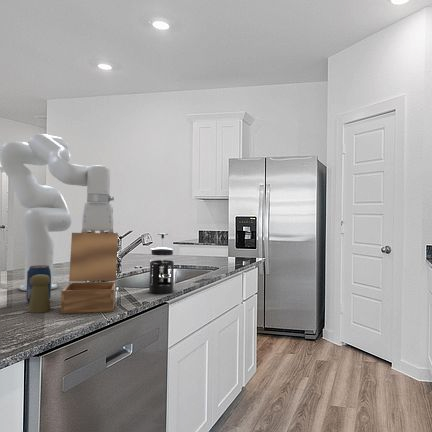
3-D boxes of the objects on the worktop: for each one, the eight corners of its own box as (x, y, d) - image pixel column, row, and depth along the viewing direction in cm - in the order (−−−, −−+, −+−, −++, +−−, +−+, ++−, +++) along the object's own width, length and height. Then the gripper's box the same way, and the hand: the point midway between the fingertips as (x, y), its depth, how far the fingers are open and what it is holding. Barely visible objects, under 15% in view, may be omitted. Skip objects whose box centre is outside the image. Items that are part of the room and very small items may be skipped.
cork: (40, 313, 128) (41, 276, 128) (23, 311, 129) (24, 275, 129) (55, 309, 134) (56, 274, 134) (38, 307, 135) (39, 272, 135)
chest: (113, 311, 133) (113, 289, 133) (60, 313, 128) (61, 291, 128) (115, 301, 148) (116, 281, 148) (68, 303, 143) (69, 282, 143)
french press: (155, 288, 174) (156, 232, 174) (177, 290, 173) (179, 233, 173) (142, 294, 162) (144, 233, 162) (166, 295, 161) (168, 234, 161)
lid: (117, 233, 150) (118, 233, 151) (71, 232, 145) (72, 232, 146) (116, 280, 148) (116, 280, 148) (69, 281, 143) (69, 281, 143)
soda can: (52, 300, 147) (53, 265, 147) (47, 304, 140) (48, 267, 140) (29, 300, 145) (30, 265, 145) (23, 304, 138) (24, 267, 138)
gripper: (120, 200, 161) (119, 249, 161) (76, 199, 156) (75, 249, 156) (120, 200, 154) (119, 250, 154) (74, 198, 149) (73, 251, 149)
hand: (97, 250), depth 155 cm, fingers closed
